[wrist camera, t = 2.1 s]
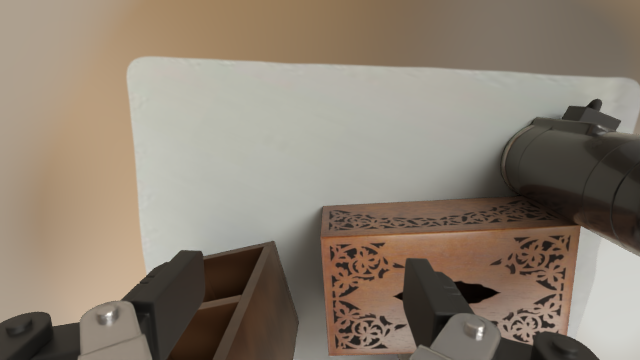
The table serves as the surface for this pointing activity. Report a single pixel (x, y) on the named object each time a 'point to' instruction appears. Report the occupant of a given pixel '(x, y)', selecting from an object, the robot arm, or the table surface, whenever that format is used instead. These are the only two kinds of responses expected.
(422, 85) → the table surface
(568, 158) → the robot arm
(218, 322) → the shelf
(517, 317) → the tissue box cover
